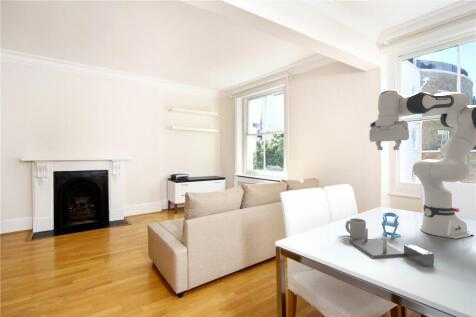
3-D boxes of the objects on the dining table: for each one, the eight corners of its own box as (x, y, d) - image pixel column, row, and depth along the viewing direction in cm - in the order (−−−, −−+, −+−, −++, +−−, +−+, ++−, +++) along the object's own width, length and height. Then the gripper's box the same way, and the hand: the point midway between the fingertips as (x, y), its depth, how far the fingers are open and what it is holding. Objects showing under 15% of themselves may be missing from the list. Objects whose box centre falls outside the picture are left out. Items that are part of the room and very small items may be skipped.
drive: (413, 256, 98) (413, 244, 98) (433, 266, 89) (433, 253, 89) (403, 256, 98) (403, 244, 98) (423, 267, 89) (423, 254, 89)
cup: (361, 241, 114) (361, 223, 114) (342, 235, 122) (342, 218, 122) (368, 238, 119) (368, 220, 118) (349, 232, 127) (349, 216, 126)
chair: (379, 237, 120) (379, 213, 120) (383, 232, 126) (383, 210, 126) (397, 240, 115) (397, 216, 114) (400, 236, 121) (400, 213, 120)
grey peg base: (376, 240, 115) (376, 226, 115) (404, 256, 98) (404, 239, 98) (349, 242, 113) (349, 227, 113) (373, 258, 96) (373, 241, 96)
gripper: (412, 120, 108) (412, 149, 108) (377, 124, 128) (376, 150, 128) (401, 119, 106) (401, 150, 107) (367, 124, 126) (367, 150, 127)
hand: (387, 150), depth 118 cm, fingers open, 8 cm apart
